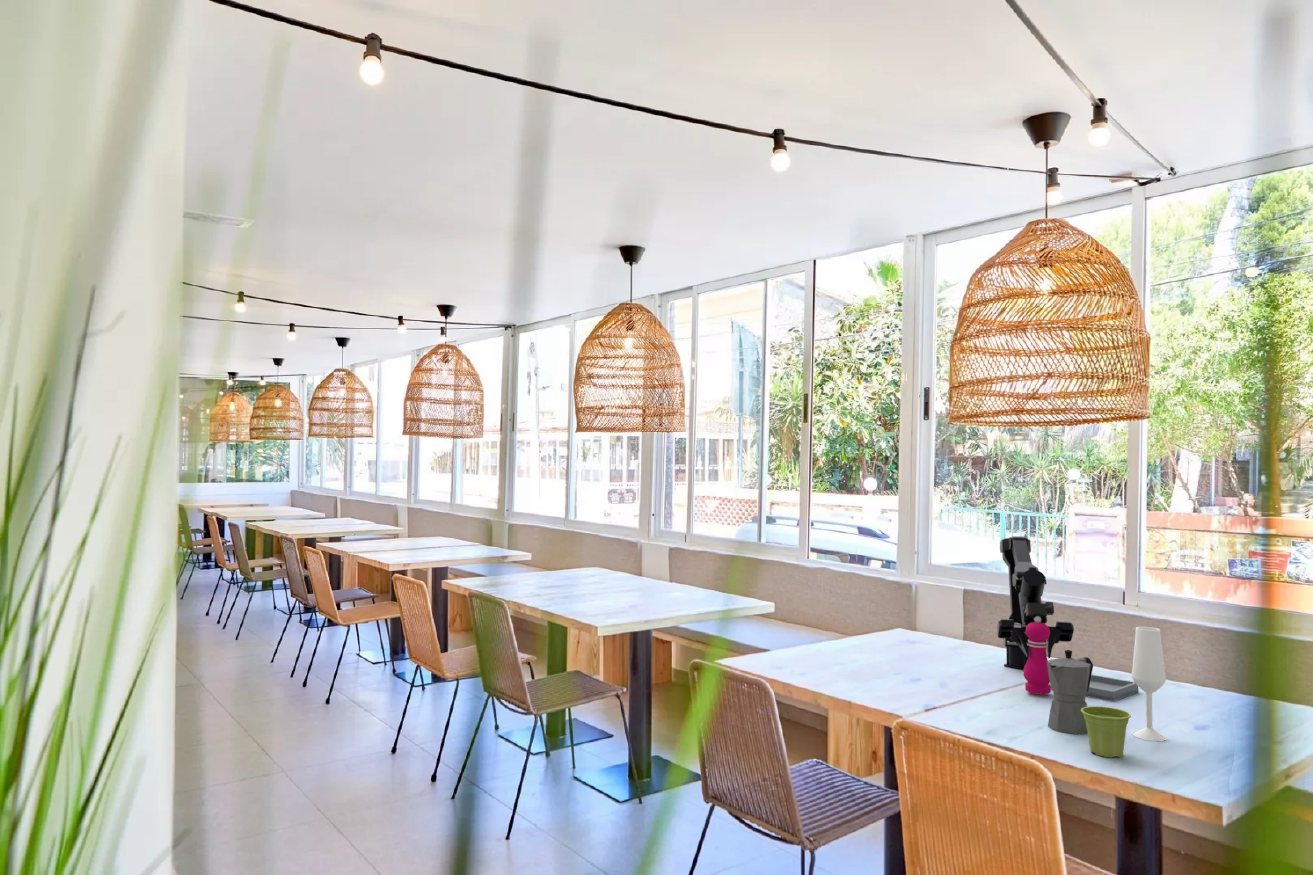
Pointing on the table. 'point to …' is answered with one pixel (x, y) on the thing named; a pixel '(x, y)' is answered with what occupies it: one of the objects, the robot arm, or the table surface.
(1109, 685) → the tray
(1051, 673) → the coffeepot
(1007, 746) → the table surface
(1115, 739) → the plant pot
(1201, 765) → the table surface
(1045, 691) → the pepper mill
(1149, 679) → the champagne flute
